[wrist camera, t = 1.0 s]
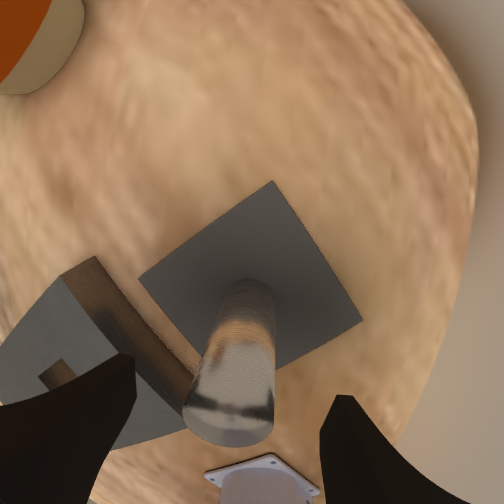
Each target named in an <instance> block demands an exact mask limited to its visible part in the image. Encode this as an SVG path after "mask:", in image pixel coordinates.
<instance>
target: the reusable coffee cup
mask: <svg viewBox="0 0 504 504" xmlns="http://www.w3.org/2000/svg"><path fill="white" fill-rule="evenodd" d="M84 19H85V9H84V6H83V2H82V1H81V0H0V95H10V94H27V93H31V92H33V91H36V90H38V89H39V88H41V87H42V86H44V85H45V84H46V83H47V82H48V81H50V80H51V79H52V78H53V77H54V76H55V75H56V74H57V72H58V71H59V70H60V69H61V68H62V66H63V65H64V64H65V62H66V61H67V60H68V58H69V57H70V55H71V53H72V51H73V50H74V48H75V46H76V44H77V42H78V40H79V37H80V35H81V32H82V29H83V25H84Z"/></svg>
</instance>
